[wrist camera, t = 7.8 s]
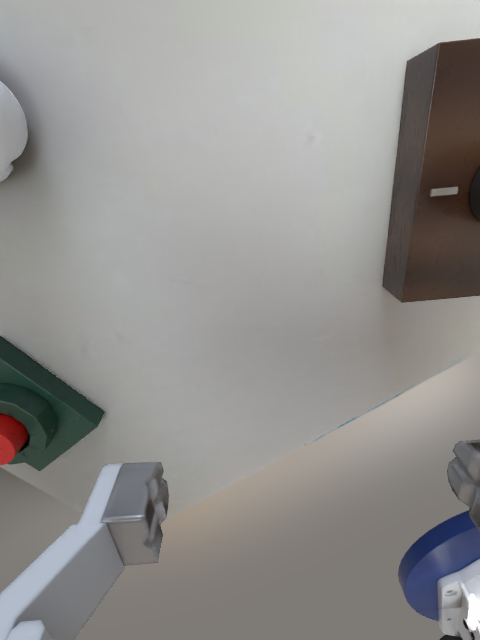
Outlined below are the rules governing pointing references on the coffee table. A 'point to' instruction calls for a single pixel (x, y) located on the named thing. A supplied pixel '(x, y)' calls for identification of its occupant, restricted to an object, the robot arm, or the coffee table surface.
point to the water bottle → (10, 130)
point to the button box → (42, 408)
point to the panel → (437, 178)
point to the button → (11, 437)
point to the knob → (475, 195)
